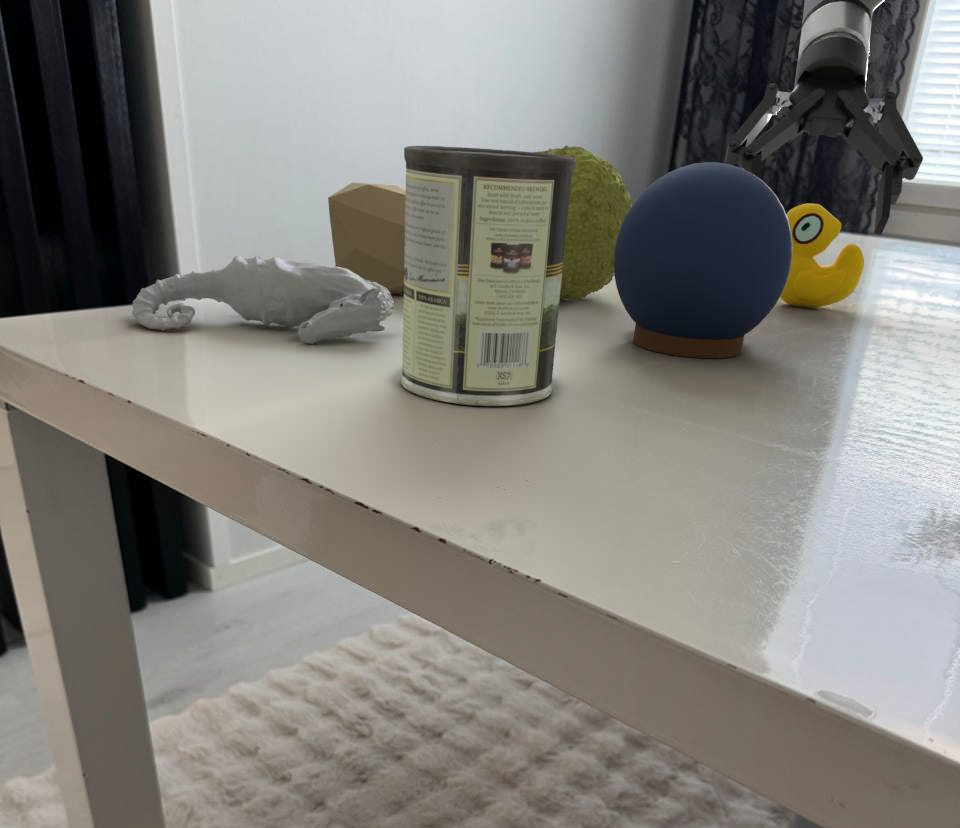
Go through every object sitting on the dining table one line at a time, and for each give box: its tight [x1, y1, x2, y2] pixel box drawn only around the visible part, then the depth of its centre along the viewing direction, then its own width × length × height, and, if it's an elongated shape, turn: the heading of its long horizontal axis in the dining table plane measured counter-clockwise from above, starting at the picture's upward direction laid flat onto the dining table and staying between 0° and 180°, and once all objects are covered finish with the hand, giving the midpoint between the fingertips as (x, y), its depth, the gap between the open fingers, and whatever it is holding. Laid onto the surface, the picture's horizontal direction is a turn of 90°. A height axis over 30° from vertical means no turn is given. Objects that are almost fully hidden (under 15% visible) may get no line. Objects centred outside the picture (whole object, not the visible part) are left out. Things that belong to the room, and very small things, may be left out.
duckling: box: [779, 203, 865, 308], centre depth 100 cm, size 11×5×10 cm, turn 80°
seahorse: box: [131, 255, 395, 345], centre depth 74 cm, size 5×12×20 cm
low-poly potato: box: [327, 182, 406, 295], centre depth 92 cm, size 15×11×12 cm
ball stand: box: [614, 161, 792, 359], centre depth 77 cm, size 14×14×14 cm
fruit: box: [535, 144, 634, 301], centre depth 95 cm, size 16×14×15 cm
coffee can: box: [400, 145, 576, 407], centre depth 61 cm, size 10×10×14 cm
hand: (815, 220), depth 101 cm, fingers open, 13 cm apart
